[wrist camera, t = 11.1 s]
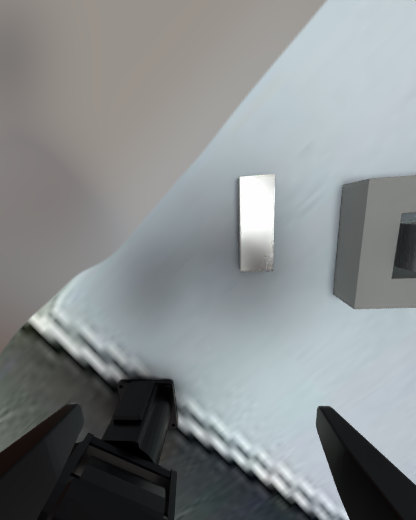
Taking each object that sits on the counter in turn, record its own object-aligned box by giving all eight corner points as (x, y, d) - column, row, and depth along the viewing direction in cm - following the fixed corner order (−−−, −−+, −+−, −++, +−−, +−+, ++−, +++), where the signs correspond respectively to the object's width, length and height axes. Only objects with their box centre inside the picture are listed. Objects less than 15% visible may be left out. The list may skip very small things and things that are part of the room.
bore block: (445, 291, 18) (489, 305, 15) (333, 294, 19) (354, 309, 16) (471, 176, 16) (528, 167, 13) (342, 185, 16) (369, 178, 14)
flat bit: (267, 265, 19) (272, 270, 17) (239, 266, 19) (241, 271, 17) (269, 178, 17) (275, 174, 15) (237, 180, 17) (239, 176, 16)
